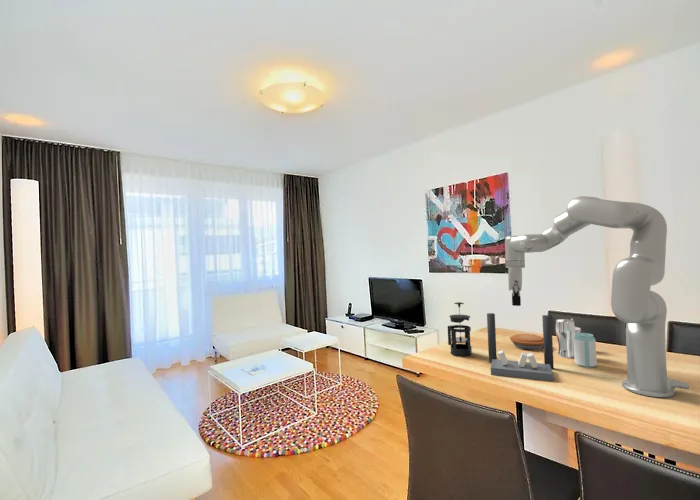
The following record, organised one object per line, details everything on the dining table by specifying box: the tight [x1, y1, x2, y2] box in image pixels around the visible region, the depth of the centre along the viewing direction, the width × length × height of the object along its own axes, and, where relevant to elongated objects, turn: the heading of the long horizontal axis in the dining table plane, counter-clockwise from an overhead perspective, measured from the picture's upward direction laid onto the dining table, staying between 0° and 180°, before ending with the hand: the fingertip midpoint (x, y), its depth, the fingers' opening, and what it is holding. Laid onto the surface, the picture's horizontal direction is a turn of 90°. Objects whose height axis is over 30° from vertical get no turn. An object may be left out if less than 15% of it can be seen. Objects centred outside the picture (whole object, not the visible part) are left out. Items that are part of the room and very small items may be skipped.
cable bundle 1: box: [486, 312, 498, 364], centre depth 140 cm, size 3×3×20 cm
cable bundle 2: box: [541, 314, 555, 370], centre depth 132 cm, size 3×3×20 cm
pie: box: [509, 333, 544, 351], centre depth 161 cm, size 15×16×5 cm
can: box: [574, 332, 598, 369], centre depth 133 cm, size 7×7×12 cm
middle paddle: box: [518, 351, 528, 368], centre depth 127 cm, size 2×4×4 cm, turn 155°
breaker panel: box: [490, 358, 554, 382], centre depth 128 cm, size 20×11×2 cm, turn 65°
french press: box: [447, 301, 473, 358], centre depth 154 cm, size 12×9×23 cm
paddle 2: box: [526, 352, 538, 368], centre depth 126 cm, size 2×4×4 cm, turn 155°
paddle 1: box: [497, 349, 509, 365], centre depth 130 cm, size 2×4×4 cm, turn 155°
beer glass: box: [555, 318, 576, 359], centre depth 145 cm, size 7×7×15 cm
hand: (516, 303), depth 148 cm, fingers open, 9 cm apart
